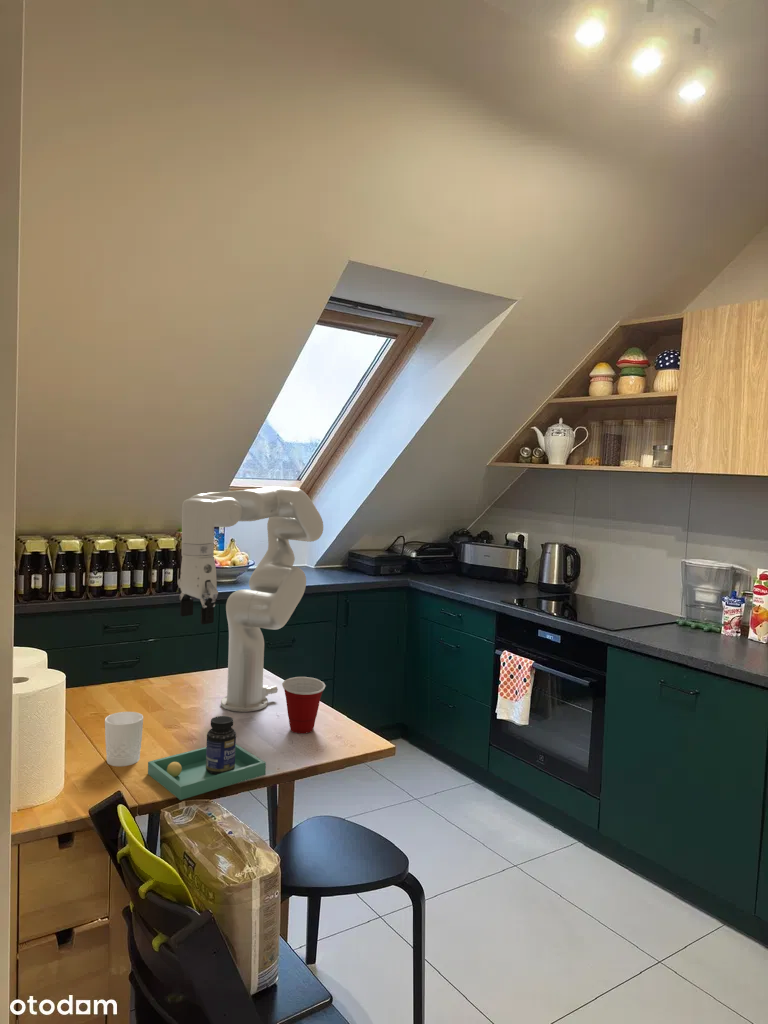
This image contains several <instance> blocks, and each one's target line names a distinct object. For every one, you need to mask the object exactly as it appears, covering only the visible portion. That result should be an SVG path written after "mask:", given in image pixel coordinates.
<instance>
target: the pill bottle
mask: <svg viewBox="0 0 768 1024" xmlns="http://www.w3.org/2000/svg"><path fill="white" fill-rule="evenodd" d="M210 719H211V720H210V727H211V728H210V729H209V730H208V731H207V734H206V746H205V747H206V770H207V771H208V772H209V773H211V774H215V775H217V774H221V773H224V772H228V771H231V770H234V768H235V745H236V744H237V743H236V741H237V739H236V737H237V733H236V731H235V729H234V728H233V725H234V718H232V717H231V716H226V715H223V716H222V715H221V716H214V717H212V718H210Z"/></svg>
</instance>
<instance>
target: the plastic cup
mask: <svg viewBox="0 0 768 1024" xmlns="http://www.w3.org/2000/svg"><path fill="white" fill-rule="evenodd" d="M281 685H282V687H283V690H284V696H285V700H286V701H285V702H286V710H287V717H288V723H289V728H290V731H291V732H292V733H294V734H295V733H296V734H299V735H301V734H308V733H312V732H313V731H314V728H315V724H316V719H317V716H318V710H319V706H320V703H321V698H322V695H323V691H324V690H325V688H326V684H325V682H324V681H321V680H320V679H318V678H316V677H315V678H314V677H311V676H310V677H307V676H295V677H289V678H287V679H284V681H283V682H282V684H281Z"/></svg>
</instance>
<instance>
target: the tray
mask: <svg viewBox="0 0 768 1024" xmlns="http://www.w3.org/2000/svg"><path fill="white" fill-rule="evenodd" d="M206 747H207V746H204V747H201V748H196V749H192V750H189V751H184V752H181V753H176V754H172V755H169V756H165V757H160V758H158V759H153V760H150V761H149V760H148V761H147V775H149V776H150V777H151V778H152V779H153V780H155V781H156V782H157V783H158V784H159V785H161V786H162V787H163V788H165V789H166V790H167V791H168V792H169V793H171V794H172V795H173V796H175V798H177V799H178V800H179V801H182V800H185V799H189V798H193V797H195V796H200V795H202V794H206V793H208V792H212V791H215V790H218V789H221V788H225V787H228V786H232V785H235V784H238V783H241V782H244V781H249V780H250V779H254V778H258V777H261V776H266V770H267V769H266V768H267V767H266V766H267V765H266V763H267V762H266V761H265V760H263V759H262V758H259V756H256V755H254V754H253V753H251V752H250V751H248V750H247V749H245V748H243V747H242V746H241V745H238V744H237V743H236V745H235V768H234V770H231V771H228V772H224V773H221V774H217V775H215V774H211V773H209V772H208V771H207V770H206ZM172 762H178V763H180V765H181V767H182V771H181V773H180V774H179V775H178V776H176V777H172V776H171V775H170V774H168V773H167V767H168V765H169V764H170V763H172Z"/></svg>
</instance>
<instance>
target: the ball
mask: <svg viewBox="0 0 768 1024" xmlns="http://www.w3.org/2000/svg"><path fill="white" fill-rule="evenodd" d="M181 771H182V767H181V765H180V763H178V762H172V763H170V764H169V765H168V767H167V773H168V774H170V775H171V776H172V777H176V776H178V775H179V774H180V773H181Z"/></svg>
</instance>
